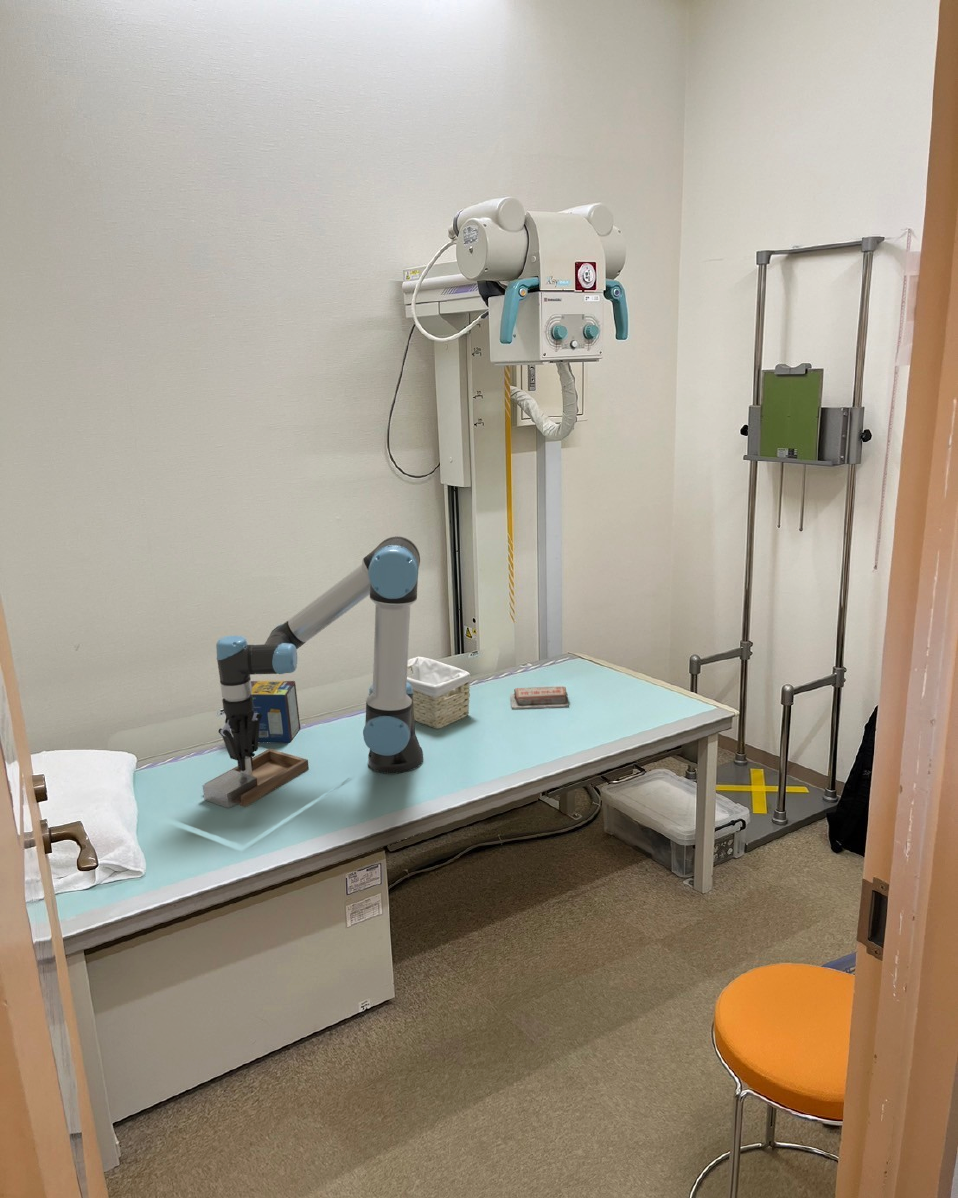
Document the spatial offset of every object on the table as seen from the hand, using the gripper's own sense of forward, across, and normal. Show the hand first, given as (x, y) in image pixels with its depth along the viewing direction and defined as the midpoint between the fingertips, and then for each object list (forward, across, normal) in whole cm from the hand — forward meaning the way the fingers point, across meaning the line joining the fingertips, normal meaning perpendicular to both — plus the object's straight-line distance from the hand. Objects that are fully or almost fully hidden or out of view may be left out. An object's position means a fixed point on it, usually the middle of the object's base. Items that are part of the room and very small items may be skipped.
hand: (247, 779), depth 240 cm
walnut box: (+3, -3, 0) cm, 4 cm away
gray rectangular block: (+2, +6, 0) cm, 6 cm away
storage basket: (+3, -63, +13) cm, 64 cm away
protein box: (+4, -28, -20) cm, 34 cm away
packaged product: (+4, -87, +38) cm, 95 cm away
